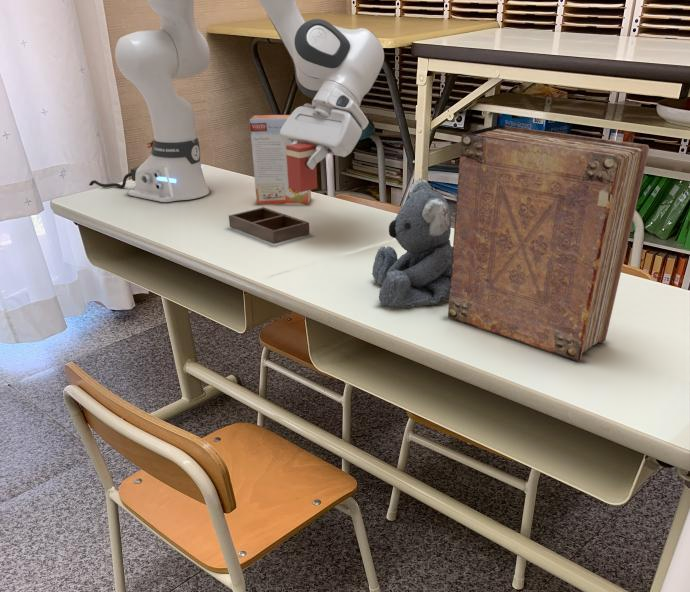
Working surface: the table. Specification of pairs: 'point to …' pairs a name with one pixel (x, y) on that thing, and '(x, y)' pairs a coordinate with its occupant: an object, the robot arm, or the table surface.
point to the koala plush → (417, 252)
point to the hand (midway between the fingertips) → (299, 165)
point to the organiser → (269, 225)
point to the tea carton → (300, 167)
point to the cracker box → (272, 162)
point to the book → (542, 234)
